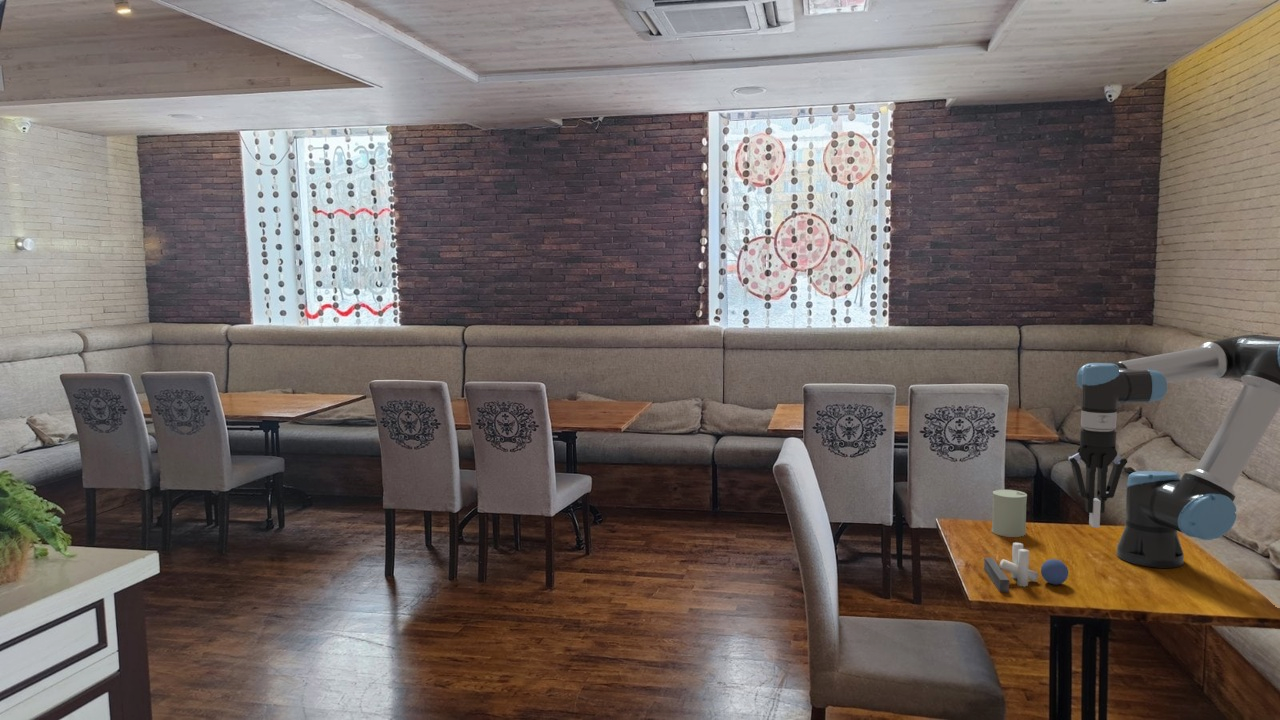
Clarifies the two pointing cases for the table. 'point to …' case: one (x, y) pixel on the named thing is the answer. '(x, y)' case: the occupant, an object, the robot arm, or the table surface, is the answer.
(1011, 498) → the can
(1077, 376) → the robot arm
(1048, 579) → the ball
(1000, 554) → the table surface
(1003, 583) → the back wall
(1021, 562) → the pin back left
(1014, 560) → the pin back right
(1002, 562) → the pin front
